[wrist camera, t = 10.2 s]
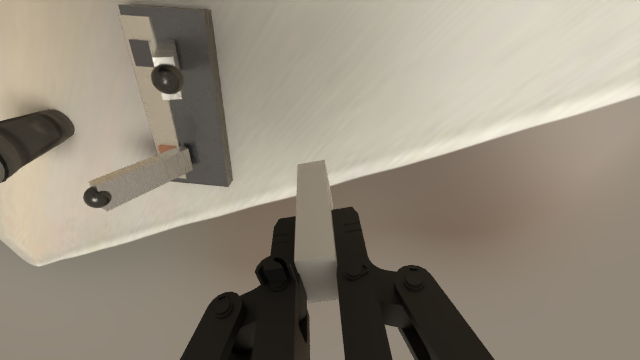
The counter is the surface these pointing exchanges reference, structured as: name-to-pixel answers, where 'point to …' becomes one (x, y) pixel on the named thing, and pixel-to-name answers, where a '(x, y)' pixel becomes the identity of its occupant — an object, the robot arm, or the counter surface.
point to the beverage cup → (30, 138)
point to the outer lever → (137, 179)
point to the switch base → (197, 93)
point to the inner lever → (167, 71)
